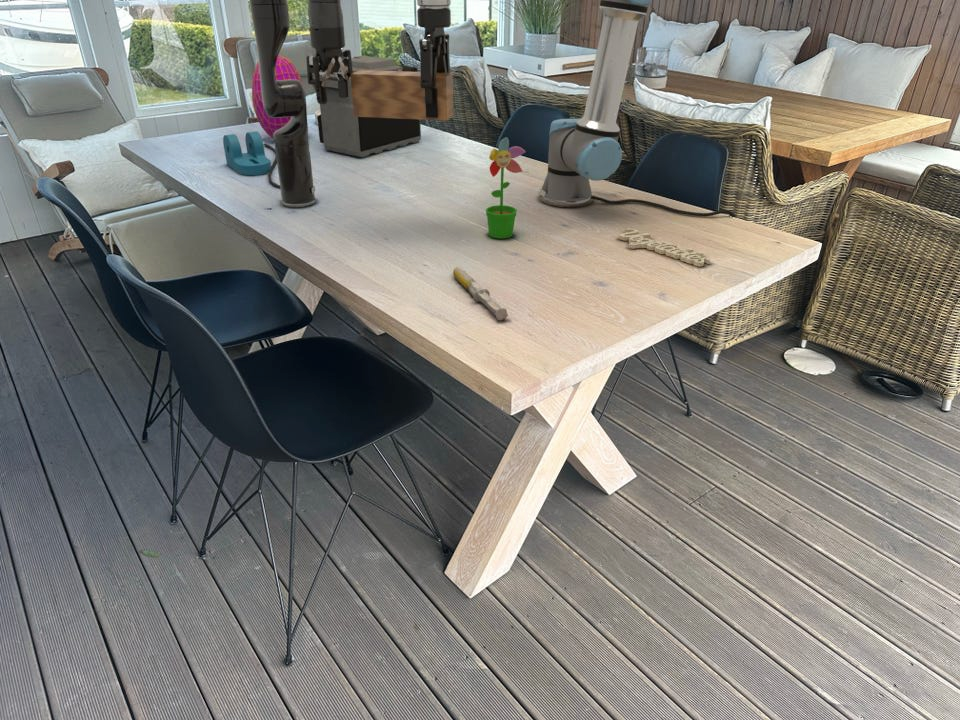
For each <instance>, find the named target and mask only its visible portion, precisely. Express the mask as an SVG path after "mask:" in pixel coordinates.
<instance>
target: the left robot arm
mask: <svg viewBox="0 0 960 720" xmlns="http://www.w3.org/2000/svg"><path fill="white" fill-rule="evenodd" d="M248 1H249V9H250V15H251V21H252V26H253V32H254V38H255V45H256V52H257V61H259V72H260V84H261V95H262V102H263V106H264V110H265V112H266V114H267V115H268V116H269V117H270V118H281V117H291V119H290V121H289V122H288V123H287V124H286V125H285V126H283V127H282V128H280V129H278V130H276V131H275V132H274V135H273V137H274V139H273V143H274V147H273V146H271V145H269V144H268V143H263V145H264V147H266V148H268V149H270V150H272V151H273V152H274V154H275V158H274V161H273V162H272V164H271V169H270V170H269V173H267V179H268V182H269V184H270V185H272V186H273V187H275V188H277V189H280V195H281V204H282V206H284V207H286V208H287V207H288V208H305V207H309V206H312V205H314V204H316V203H317V202H316V201H317V200H316V195H315V194H316V193H315V192H316V187H315V186H316V185H314V177H313V168H312V160H311V159H312V158H311V152H310V142H309V141H310V140H309V125H308V111H307V110H308V109H307V97H306V91H305V88H303V87H304V85H303V86H302V84H303V83H302V84H301V82H300V81H299V80H296V79H291V80H277V81H275V68H276V61H277V58H278V55H280V52H281V50H282V48H283V45H284V43H285V41H286V39H287V36H288V35H289V31H290V27H291V26H290V25H291V20H290V12H289V4H288V0H248ZM307 1H308V2H307V4H308V5H307V6H308V7H307V11H308V12H307V13H308V25H309V35H310V36H309V37H310V45H311V48H313V49H315V55H307V56H306V57H305V58H306V73H307V83H308V85H311V86H312V85H314V86H315V88H316V91H315V95H316V101H317V104H318V105H320V104H326V103H327V96H326V87H324V86H325V84H326V80H327V78H329V77H330V74H333V73H334V74H335V75H336V77H337V78H338V80H340V81H338V91H339V97H340V98H347V97H348V83H347V81H348V80H349V77H350V74H351V73H353V70H352V60H351V58H352V53H351V50H350V49H344V48H345V46H346V40H345V39H346V37H345V26H344V14H343V13H344V12H343V8H342V2H341V0H307ZM345 66H347V67H348V71H346V68H345ZM320 71H321V72H320ZM312 73H314V74H315V78H314V79H313V75H312ZM320 78H322V79H321V81H320ZM276 165H277V173H278V181H279V184H278V183H275V182H274V181H273V180H272V176H271V175H272V173H273V170H274V168H275V166H276Z"/></svg>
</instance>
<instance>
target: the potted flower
mask: <svg viewBox="0 0 960 720" xmlns="http://www.w3.org/2000/svg"><path fill="white" fill-rule="evenodd" d="M497 148H498V149H497ZM497 148H492V150H491V151H490V154H489V158H488V159H489V160H490V161H492V162H491V163H490V166H489V172H490V175H491V176H492V177H493V178H494V177H496V176H497V175H498V173H499V171H500V189H495V190H493V191H492V192H491V193H490V194H491V195H492V197H494V198H500V199H499V200H500V201H499V204H498V205H491V206H488V207H487V208H486V209H485V215H486V218H487V219H486V220H487V229H488V236H489V237H491V238H494V239H509V238H511V237H512V236H513V234H514V227H515V221H516V217H517V213H518V210H517V208H516V207H513V206H510V205H504V189H507V188H508V187H509V186H510V184H511V182H509V181H506V182H504V179H505V178H504V176H505V174H504V173H505V172H504V171H505V169H506V170H507V171H508V172H510V173H514V174H517V173H522V172H523V169H522V167H521V166H520V164H519V163H518V162H517V161H516V160H515V159H516V158H519V157H520V156H522V155H523V154H525V153H526V152H527V151H526V150H525V149H523V148H522V147H521V146H517V145H514V146H511V147H510V140H509V138H508V137H507V136H506V137H504V138H502V139H501V140H500V141H499V142H498V144H497Z"/></svg>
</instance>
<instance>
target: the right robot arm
mask: <svg viewBox="0 0 960 720" xmlns="http://www.w3.org/2000/svg"><path fill="white" fill-rule="evenodd" d="M652 1H653V0H600V1H599V9H600V12H601V13H602V16H603V18H602V23H601V27H600V34H599V38H598V44H597V48H596V53H595V59H594V64H593V68H592V73H591V77H590V83H589V88H588V93H587V97H586V102H585V108H584V113H583V116H582V117H581V118H560V119H554V120H552V122H551V124H550V127H549V128H550V129H549V133H548V136H549V141H548V142H549V143H548V156H547V158H548V159H547V173H546V176H545V178H544V181H543V184H542V187H541V188H539V191H538V195H539V200H540V202H542V203H543V204H546V205H549V206H553V207H558V208H559V207H560V208H580V207H584V206H588V205H589V204H591V203H592V200H593V201H594V200H595V201H598V202H602V203H604V204H608V205H621V204H627V203H628V204H629V203H635V204H643V205H648V206H653V207H656V208H659V209H663V210H666V211H669V212H671V213H676V214H681V215H687V216H694V217H713V216H716V215H720V214H721V215H722V214H727V215H729V216H730V217H731V218H736V214H735V213H734V212H733V211H731V210H729V209H719V210H715V211H711V212H710V211H709V212H696V211H689V210H688V211H687V210H682V209H677V208H675V207H674V208H673V207H671V206H667V205H666V204H665V205H664V204H660V203H658V202H653V201H649V200H644V199H636V198H627V199H618V200H610V199H607V198H606V199H605V198H603V197H599V196H595V195H593V193H592V188H591V184H590V181H593V182H595V181H597V182H598V181H602V180H606V179H607V178H609V177H610V176H611V175H613V174H614V173H615V172H616V171H617V170H618V169H619V167H620V165H621V163H622V159H623V151H622V150H623V149H622V148H621V145H620V142H618V141H619V137H620V133H621V128H620V127H619V125H618V124H617V119H618V114H619V110H620V105H621V101H622V98H623V97H622V96H623V92H624V89H625V83H626V80H627V74H628V70H629V65H630V61H631V57H632V52H633V47H634V44H635V43H634V42H635V39H636V34H637V30H638V25H639V22H640V20H642V19H643V18H645V17H646V16H647V15H648V9H649V4H650V3H651V2H652ZM451 3H452V1H451V0H416V4H417V6H418V7H419V8H418V9H417V10H416V15H417V26H418V27H420V28H424V36H423V38H420V39H419V41H418V43H419V44H418V45H419V50H420V53H419V54H420V57H419V58H420V59H419V60H420V72H421V88H425V103H426V117H430V118H438V106H437V88H435V82H436V73H451V60H450V34H449V33H445V28H448V27H450V26H451V25H452V15H451V9H450V8H449V7H450V5H451Z"/></svg>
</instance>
